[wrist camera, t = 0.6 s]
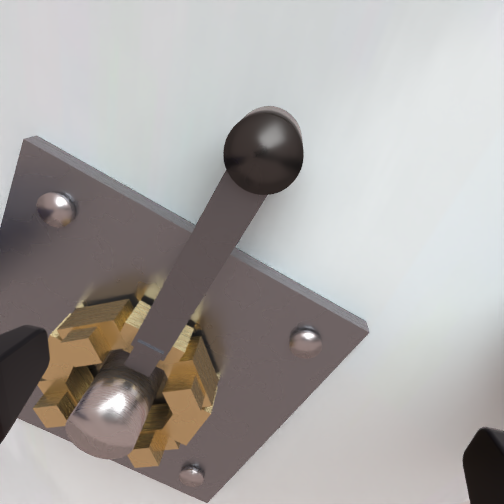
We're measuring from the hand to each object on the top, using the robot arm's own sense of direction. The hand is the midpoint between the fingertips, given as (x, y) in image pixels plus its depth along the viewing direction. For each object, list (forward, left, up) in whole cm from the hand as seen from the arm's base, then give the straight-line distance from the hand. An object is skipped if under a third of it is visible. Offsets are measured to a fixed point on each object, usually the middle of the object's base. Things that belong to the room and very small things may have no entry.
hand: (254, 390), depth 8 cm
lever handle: (+2, +7, -11) cm, 13 cm away
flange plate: (+2, +13, -12) cm, 18 cm away
